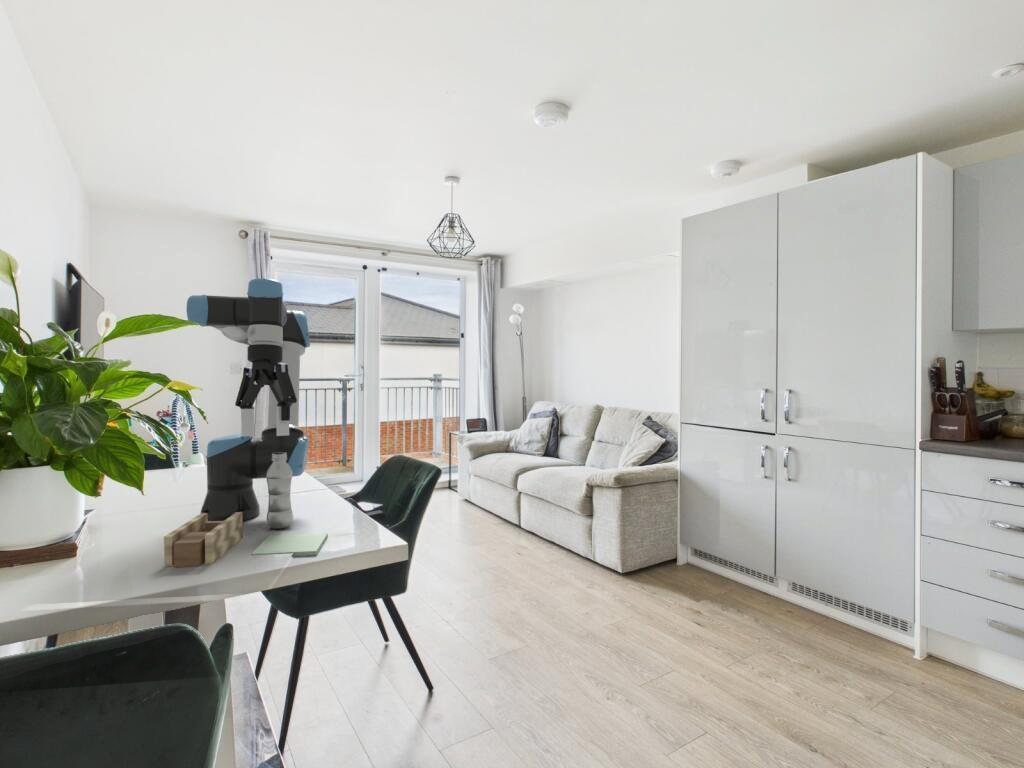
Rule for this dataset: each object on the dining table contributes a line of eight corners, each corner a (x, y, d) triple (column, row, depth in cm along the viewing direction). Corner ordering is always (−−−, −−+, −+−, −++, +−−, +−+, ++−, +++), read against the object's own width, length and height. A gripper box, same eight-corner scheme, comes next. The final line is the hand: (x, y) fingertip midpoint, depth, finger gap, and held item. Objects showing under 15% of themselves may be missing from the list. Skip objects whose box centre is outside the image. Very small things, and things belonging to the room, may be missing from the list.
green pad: (269, 539, 137) (269, 535, 137) (327, 536, 139) (327, 532, 139) (251, 558, 124) (251, 553, 123) (316, 555, 126) (316, 550, 126)
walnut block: (190, 554, 123) (189, 532, 123) (214, 553, 124) (213, 531, 124) (173, 567, 116) (173, 543, 115) (199, 565, 116) (199, 542, 116)
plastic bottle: (298, 525, 149) (298, 452, 149) (280, 532, 143) (280, 455, 142) (279, 523, 152) (278, 450, 151) (260, 530, 145) (260, 454, 145)
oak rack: (201, 542, 135) (200, 513, 135) (242, 540, 136) (242, 512, 136) (164, 569, 116) (164, 536, 116) (212, 567, 118) (212, 534, 117)
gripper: (220, 348, 133) (219, 436, 132) (283, 337, 120) (283, 436, 118) (249, 351, 140) (248, 435, 138) (313, 341, 126) (313, 434, 125)
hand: (264, 436), depth 128 cm, fingers open, 13 cm apart
